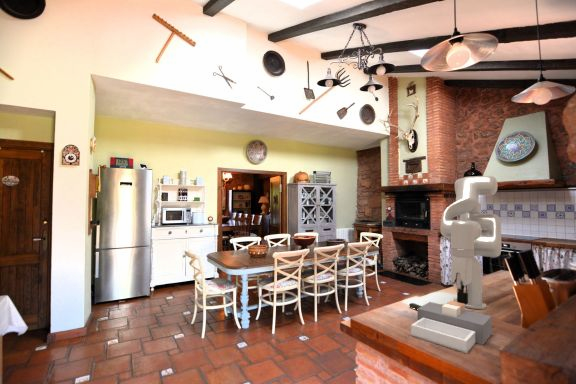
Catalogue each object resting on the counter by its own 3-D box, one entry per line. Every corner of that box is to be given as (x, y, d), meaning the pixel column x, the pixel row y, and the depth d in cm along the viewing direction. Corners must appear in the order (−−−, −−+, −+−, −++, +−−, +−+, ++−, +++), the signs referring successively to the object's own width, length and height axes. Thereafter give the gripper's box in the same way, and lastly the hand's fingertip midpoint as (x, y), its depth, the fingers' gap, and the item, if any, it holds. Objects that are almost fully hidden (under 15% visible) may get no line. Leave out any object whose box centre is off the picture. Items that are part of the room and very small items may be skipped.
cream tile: (446, 310, 104) (446, 303, 105) (460, 314, 101) (460, 306, 101) (442, 313, 101) (442, 306, 101) (456, 317, 98) (456, 309, 98)
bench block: (429, 317, 114) (429, 301, 114) (491, 334, 100) (491, 316, 100) (417, 325, 105) (417, 308, 106) (483, 345, 91) (483, 325, 92)
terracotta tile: (450, 307, 108) (450, 300, 108) (464, 310, 105) (464, 303, 105) (446, 310, 105) (446, 303, 105) (460, 313, 102) (460, 306, 102)
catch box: (422, 327, 104) (423, 317, 104) (475, 343, 93) (475, 331, 93) (411, 335, 97) (411, 324, 97) (466, 353, 85) (466, 341, 86)
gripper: (457, 251, 120) (457, 297, 118) (445, 253, 109) (445, 304, 108) (478, 253, 114) (479, 301, 113) (468, 256, 104) (468, 309, 103)
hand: (462, 303), depth 111 cm, fingers closed
